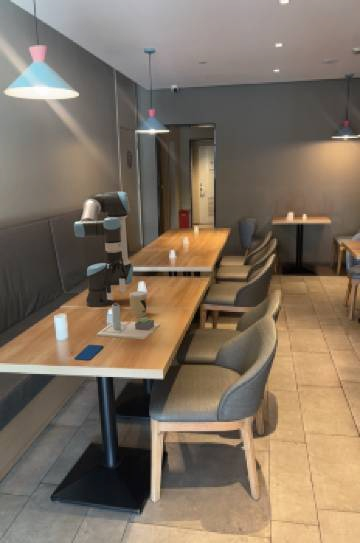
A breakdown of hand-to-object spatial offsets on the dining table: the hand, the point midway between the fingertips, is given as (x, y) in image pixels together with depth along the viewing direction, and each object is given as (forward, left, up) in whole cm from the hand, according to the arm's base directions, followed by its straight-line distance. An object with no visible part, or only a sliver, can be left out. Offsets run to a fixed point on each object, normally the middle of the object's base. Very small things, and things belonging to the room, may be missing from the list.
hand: (116, 295), depth 212 cm
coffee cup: (0, +26, -18) cm, 31 cm away
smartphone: (0, -28, -18) cm, 34 cm away
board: (+5, +2, -18) cm, 18 cm away
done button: (+12, +5, -15) cm, 20 cm away
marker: (-1, 0, -17) cm, 17 cm away
